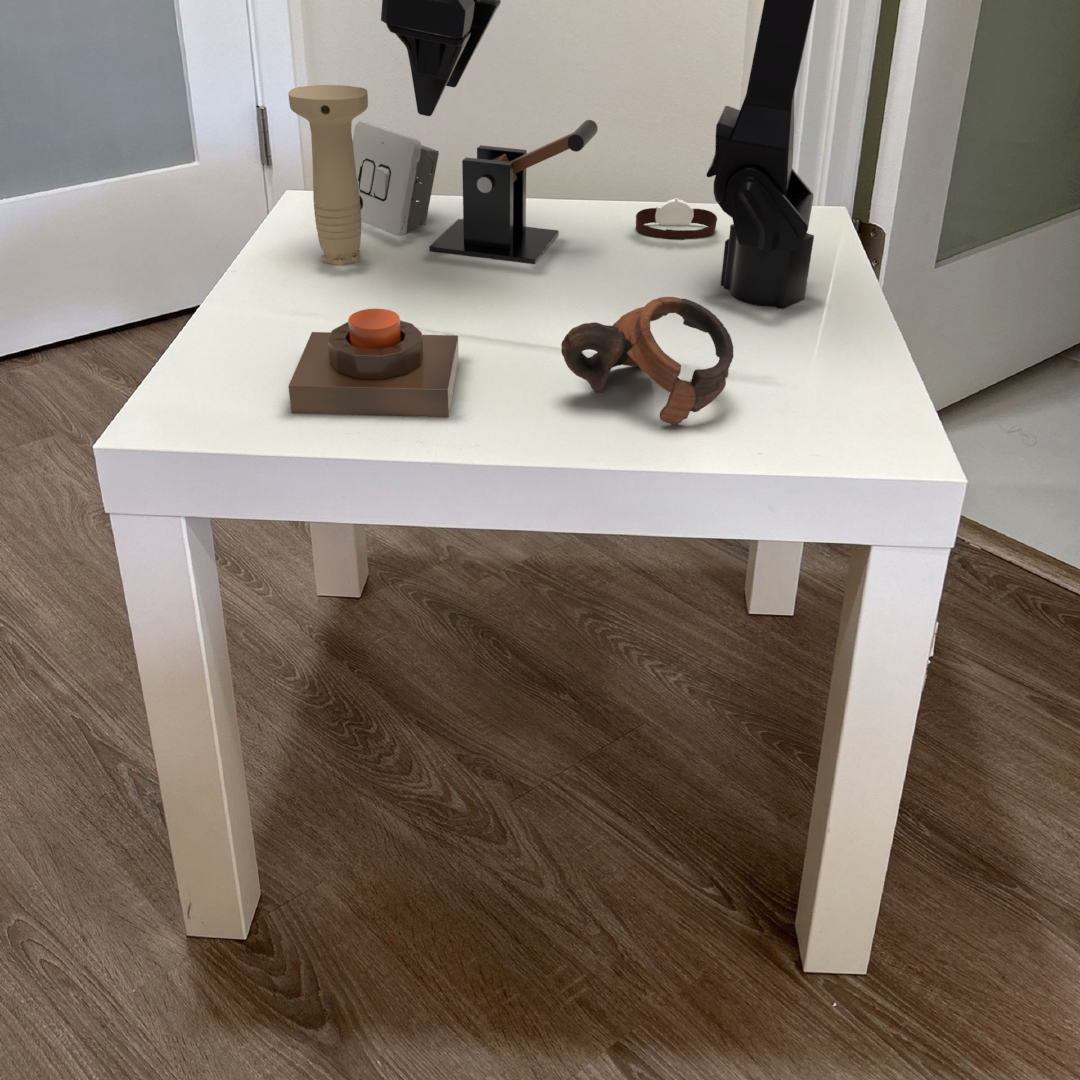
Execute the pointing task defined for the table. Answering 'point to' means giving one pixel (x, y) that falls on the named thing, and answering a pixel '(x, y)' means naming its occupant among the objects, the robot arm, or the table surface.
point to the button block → (376, 375)
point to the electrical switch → (392, 178)
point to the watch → (675, 220)
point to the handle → (333, 166)
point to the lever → (554, 147)
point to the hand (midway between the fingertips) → (437, 99)
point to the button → (374, 329)
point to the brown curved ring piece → (651, 354)
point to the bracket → (494, 212)
